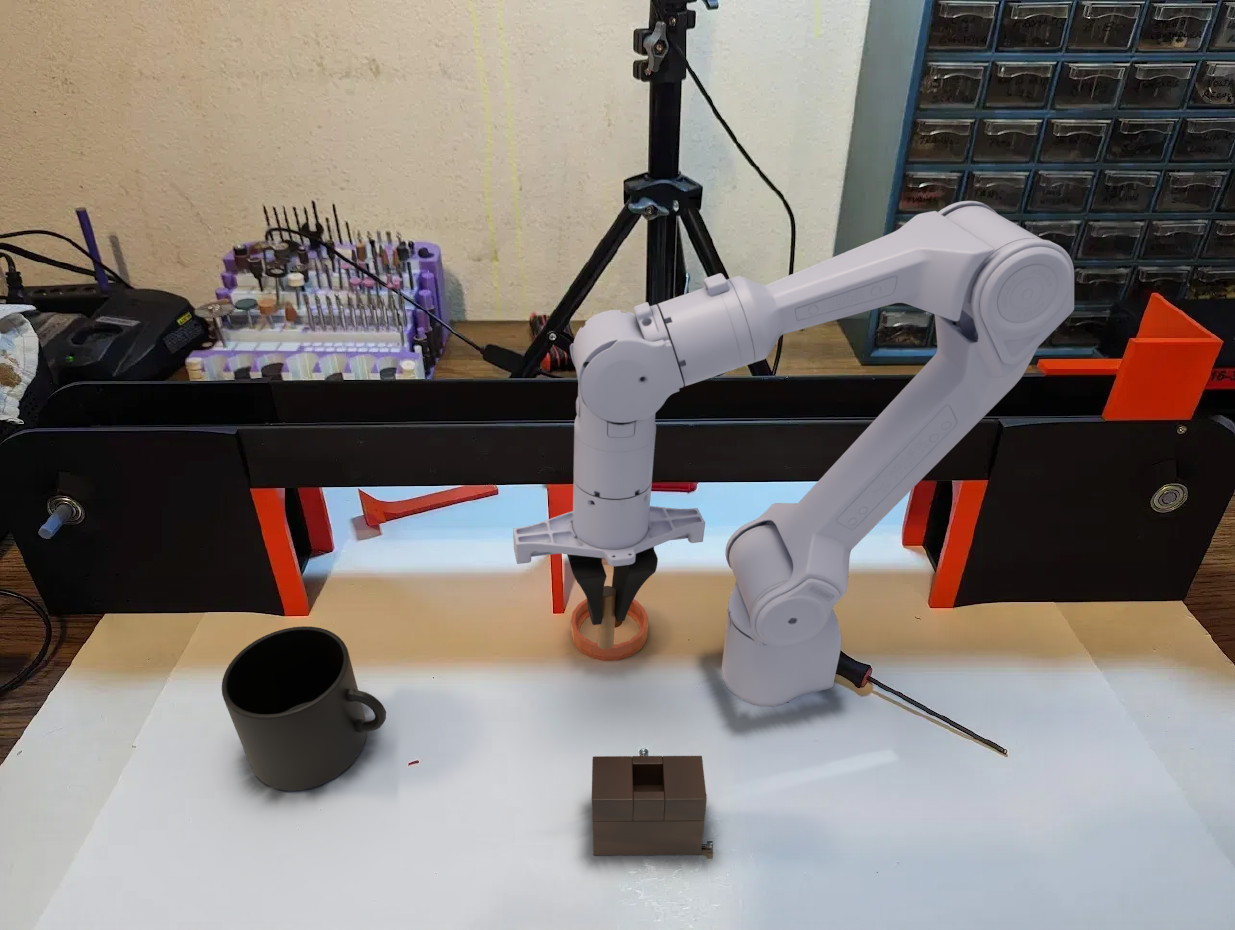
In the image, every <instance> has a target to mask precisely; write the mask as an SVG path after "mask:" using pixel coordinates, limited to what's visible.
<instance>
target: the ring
mask: <svg viewBox="0 0 1235 930" xmlns="http://www.w3.org/2000/svg"><path fill="white" fill-rule="evenodd" d="M626 616H629V617H631V618H632V619H633V620H634V621H635V622H636V623H637V626H638V628H639V632H638V633H637V634H636V635H634V636H633V637H632V638H630V639H629V640H626V641H623V642H620V643H614V645H613V646H612V647H611V648H610V649H601V648H600V647H599V646H598V645H597V642H594V641H592V640H590V639H588V638H587V637H585V636H584V635H583V634H582V633H581V632H580V630H581V626H582V624H583V623H584V622H585V620H586V619H587V618H589V617H590V614H589V611H588V604H587V598H585V599H584V600H582V601H581V602H579V603H578V604H577V605H576V607H575V608H574V610H573V611H572V613H571V619H570V633H571V638H572V642H573V644H574V646H575V647H576V648H577V649H578V650H579V651H580V652H581V653H582V654H584V655H586V656H588V657H590V658H592V659H595V660H600V661H606V662H607V661H608V662H609V661H620V660H624V659H626V658H629V657H631V656H633V655H635V654H636V653H638V651H640V650H642V648H643V646H644V645H645V643H646V641H647V639H648V633H649V632H648V631H649V616H648V613H647V610H646V609H645V607H644V606H643V605H642V604H641V603H640V602H639V601H638V600H636V599H635V598H634V599H633V601H632V603H631V605H630V608H629V610H628V613H627V615H626Z"/></svg>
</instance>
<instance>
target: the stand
mask: <svg viewBox="0 0 1235 930" xmlns="http://www.w3.org/2000/svg"><path fill="white" fill-rule="evenodd" d="M703 761H704V760H703V755H633V756H632V755H620V756H619V755H616V756H615V755H614V756H613V755H611V756H610V755H607V756H605V755H603V756H601V755H599V756H597V755H595V756H592V765H591V766H592V767H591V768H592V770H591V827H592V854H593V856H680V855H681V856H685V855H687V856H689V855H690V856H693V855H694V856H695V855H696V856H697V855H702V850H703V839H704V829H705V819H706V812H707V801H708V798H707V790H706V781H705V780H706V779H705V771H704V762H703Z"/></svg>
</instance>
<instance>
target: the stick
mask: <svg viewBox="0 0 1235 930" xmlns="http://www.w3.org/2000/svg"><path fill="white" fill-rule="evenodd" d="M615 605H616V590H615V588H613V587H612V585H604V588H603V595H602V623H601V624H599V625H597V630H596V632H597V633H596V643H597V645H598V646H599V647H600V648H601V649H610V648H611V647H612V646H613V645H614V644H615V628H614V627H615Z"/></svg>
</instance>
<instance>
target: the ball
mask: <svg viewBox="0 0 1235 930" xmlns="http://www.w3.org/2000/svg"><path fill="white" fill-rule="evenodd" d="M623 622H624V621H620V622H617V621H616V618H615V627H614V629H615V628H619V627H620V626H622V625H623Z"/></svg>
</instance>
